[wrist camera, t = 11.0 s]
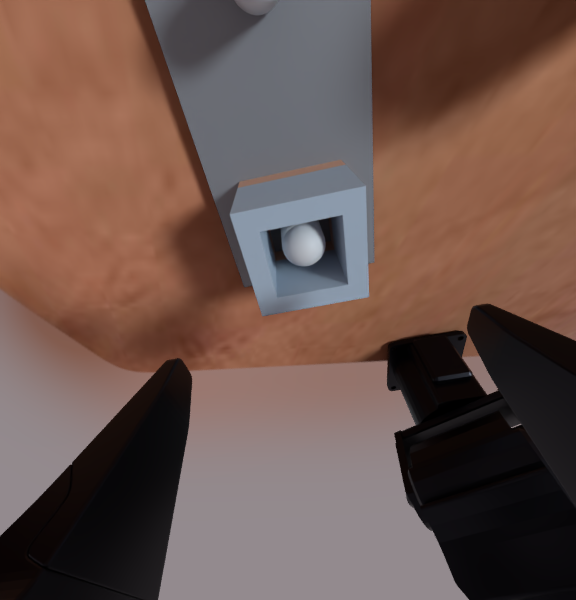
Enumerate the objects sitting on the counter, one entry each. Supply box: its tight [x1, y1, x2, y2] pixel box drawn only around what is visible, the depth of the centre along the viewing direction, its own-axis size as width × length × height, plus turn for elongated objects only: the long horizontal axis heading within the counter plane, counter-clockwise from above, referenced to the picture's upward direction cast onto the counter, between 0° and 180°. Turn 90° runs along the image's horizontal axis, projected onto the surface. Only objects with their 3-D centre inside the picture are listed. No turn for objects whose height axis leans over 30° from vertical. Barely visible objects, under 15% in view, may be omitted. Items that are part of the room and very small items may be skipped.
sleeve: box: [230, 160, 369, 316], centre depth 15 cm, size 6×6×5 cm
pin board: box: [145, 0, 374, 287], centre depth 13 cm, size 18×9×5 cm, turn 11°
